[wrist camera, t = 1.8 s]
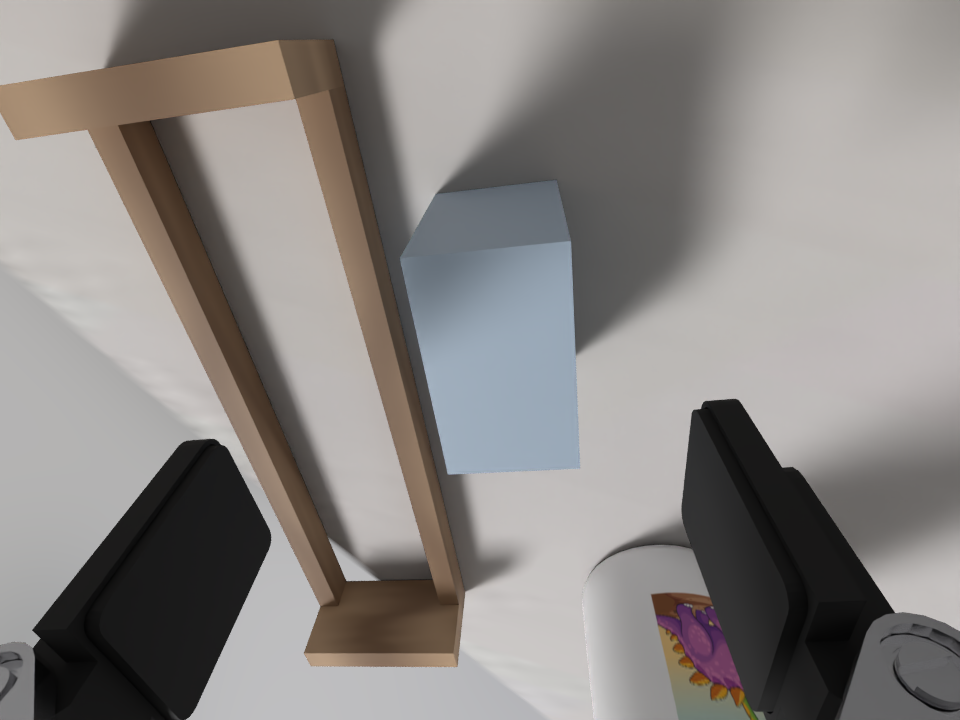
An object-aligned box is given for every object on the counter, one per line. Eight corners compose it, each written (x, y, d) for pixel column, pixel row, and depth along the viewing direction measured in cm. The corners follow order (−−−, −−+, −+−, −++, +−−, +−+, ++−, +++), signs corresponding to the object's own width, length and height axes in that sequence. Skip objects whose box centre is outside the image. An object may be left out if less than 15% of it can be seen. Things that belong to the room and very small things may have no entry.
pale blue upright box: (556, 179, 17) (571, 240, 12) (565, 361, 20) (580, 468, 15) (436, 193, 17) (400, 258, 12) (466, 368, 21) (448, 474, 16)
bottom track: (333, 39, 15) (277, 39, 12) (465, 592, 29) (457, 666, 25) (100, 77, 16) (-14, 87, 13) (335, 594, 30) (311, 666, 26)
